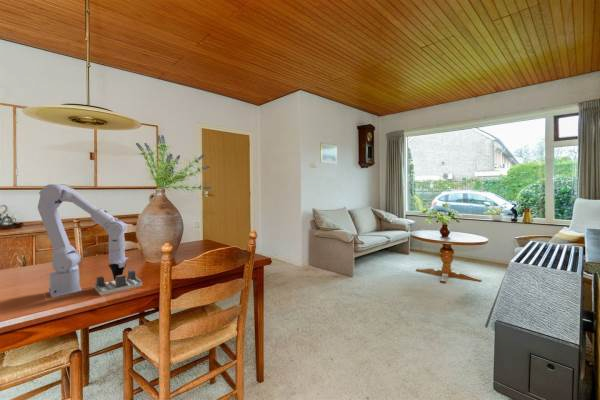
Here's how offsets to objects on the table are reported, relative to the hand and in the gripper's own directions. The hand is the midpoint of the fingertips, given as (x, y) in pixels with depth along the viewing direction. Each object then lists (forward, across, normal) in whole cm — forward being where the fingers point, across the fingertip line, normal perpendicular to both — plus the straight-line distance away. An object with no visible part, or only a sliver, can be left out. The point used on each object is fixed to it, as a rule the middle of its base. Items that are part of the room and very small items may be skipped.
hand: (117, 280), depth 119 cm
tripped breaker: (+1, -4, 0) cm, 4 cm away
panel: (+3, -1, 0) cm, 3 cm away
